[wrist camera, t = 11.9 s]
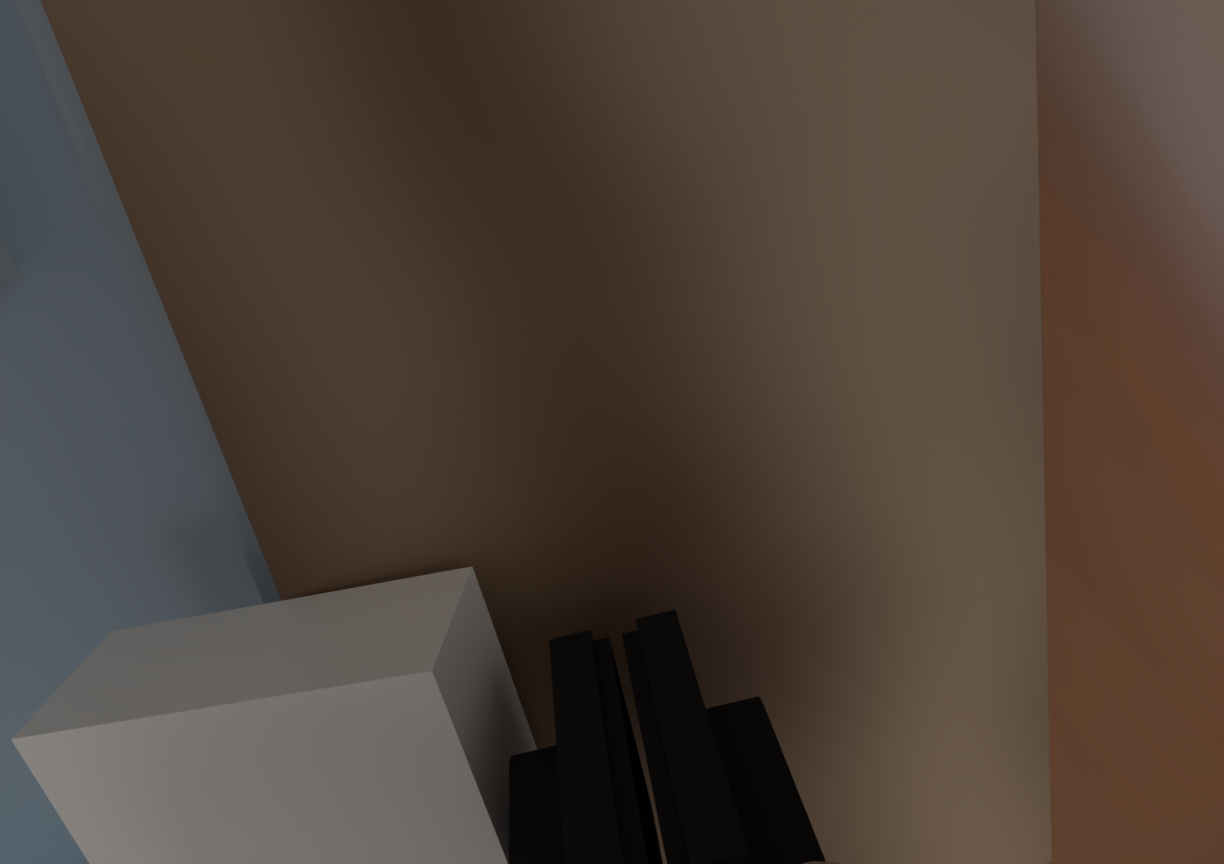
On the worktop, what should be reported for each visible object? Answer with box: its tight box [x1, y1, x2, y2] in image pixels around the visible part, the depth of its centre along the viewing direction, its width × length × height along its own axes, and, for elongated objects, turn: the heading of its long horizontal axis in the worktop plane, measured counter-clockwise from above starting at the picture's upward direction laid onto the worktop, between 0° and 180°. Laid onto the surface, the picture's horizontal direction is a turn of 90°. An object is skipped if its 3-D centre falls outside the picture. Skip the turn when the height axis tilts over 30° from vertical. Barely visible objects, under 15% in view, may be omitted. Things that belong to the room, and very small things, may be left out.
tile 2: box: [11, 567, 537, 864], centre depth 12 cm, size 5×5×2 cm
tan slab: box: [41, 0, 1052, 864], centre depth 13 cm, size 10×20×5 cm, turn 11°
